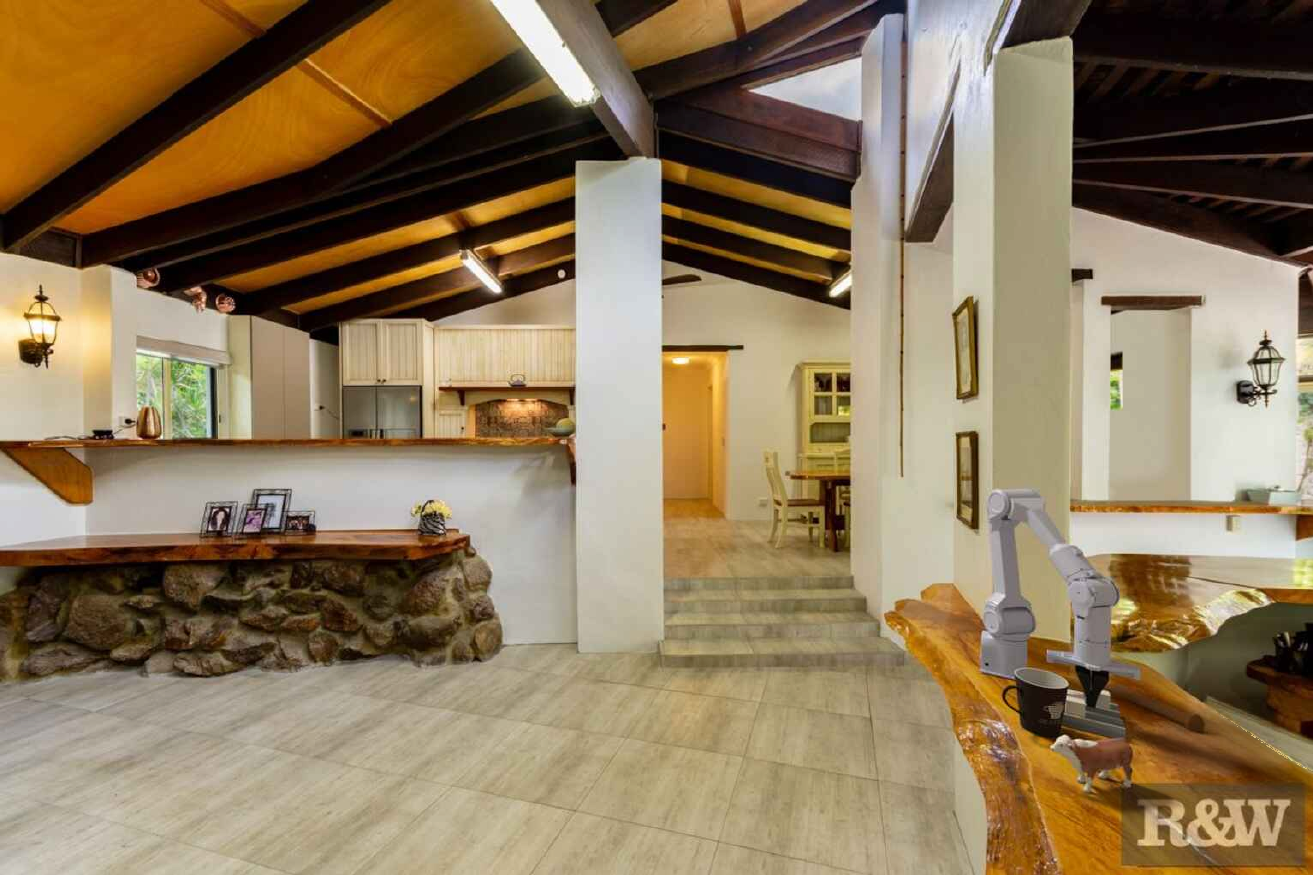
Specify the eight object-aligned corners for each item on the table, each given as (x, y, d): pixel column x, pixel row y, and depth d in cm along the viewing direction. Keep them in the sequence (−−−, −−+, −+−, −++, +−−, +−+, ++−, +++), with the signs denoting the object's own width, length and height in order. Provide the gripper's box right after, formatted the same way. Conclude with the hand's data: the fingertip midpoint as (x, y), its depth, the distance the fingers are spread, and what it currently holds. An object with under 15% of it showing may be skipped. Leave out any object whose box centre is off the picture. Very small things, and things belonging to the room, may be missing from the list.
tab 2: (1065, 717, 108) (1066, 700, 107) (1065, 712, 109) (1065, 695, 109) (1085, 721, 106) (1085, 704, 106) (1084, 716, 108) (1084, 699, 108)
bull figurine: (1044, 778, 91) (1045, 730, 91) (1119, 773, 92) (1120, 726, 92) (1066, 796, 87) (1067, 745, 87) (1144, 791, 88) (1145, 741, 88)
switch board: (1058, 724, 107) (1059, 712, 107) (1056, 701, 116) (1056, 690, 116) (1125, 741, 102) (1125, 728, 102) (1117, 715, 111) (1117, 704, 111)
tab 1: (1065, 709, 110) (1065, 692, 110) (1064, 704, 112) (1064, 688, 112) (1083, 713, 109) (1084, 697, 109) (1082, 709, 110) (1083, 692, 110)
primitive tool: (1096, 687, 123) (1097, 672, 123) (1117, 686, 124) (1117, 670, 124) (1192, 736, 104) (1192, 718, 104) (1215, 733, 105) (1216, 715, 105)
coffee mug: (1058, 721, 109) (1058, 671, 108) (1075, 745, 100) (1076, 691, 100) (991, 711, 112) (992, 663, 112) (1002, 733, 104) (1003, 681, 104)
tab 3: (1090, 708, 111) (1091, 691, 111) (1090, 703, 113) (1090, 687, 113) (1110, 712, 109) (1110, 696, 109) (1108, 708, 111) (1109, 691, 111)
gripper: (1047, 636, 109) (1046, 703, 110) (1143, 653, 101) (1142, 725, 101) (1047, 625, 115) (1046, 689, 116) (1137, 641, 107) (1136, 709, 107)
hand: (1090, 705), depth 109 cm, fingers closed
